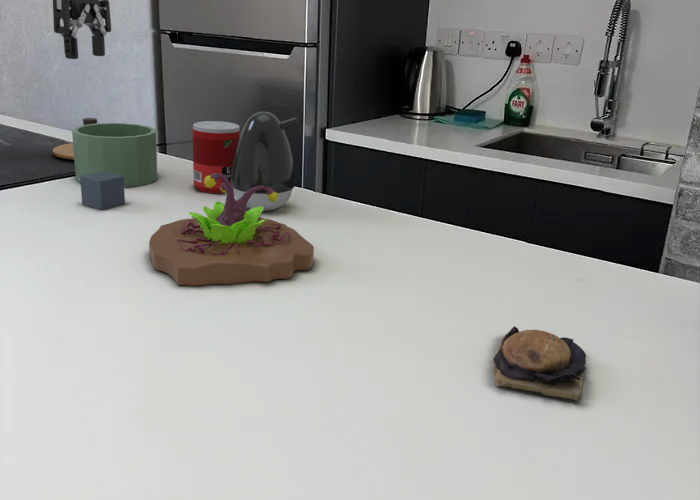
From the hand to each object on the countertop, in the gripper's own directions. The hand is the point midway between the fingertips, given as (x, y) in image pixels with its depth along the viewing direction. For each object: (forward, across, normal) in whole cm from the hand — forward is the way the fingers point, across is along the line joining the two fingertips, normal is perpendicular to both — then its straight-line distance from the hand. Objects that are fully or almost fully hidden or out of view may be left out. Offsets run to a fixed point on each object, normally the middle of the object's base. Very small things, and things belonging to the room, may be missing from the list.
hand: (85, 57), depth 128 cm
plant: (+19, +40, +46) cm, 64 cm away
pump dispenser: (+19, +17, +42) cm, 50 cm away
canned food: (+19, +10, +31) cm, 38 cm away
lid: (+18, -1, -1) cm, 18 cm away
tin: (+19, +12, +13) cm, 26 cm away
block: (+19, +27, +20) cm, 38 cm away
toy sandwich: (+19, +57, +85) cm, 104 cm away
